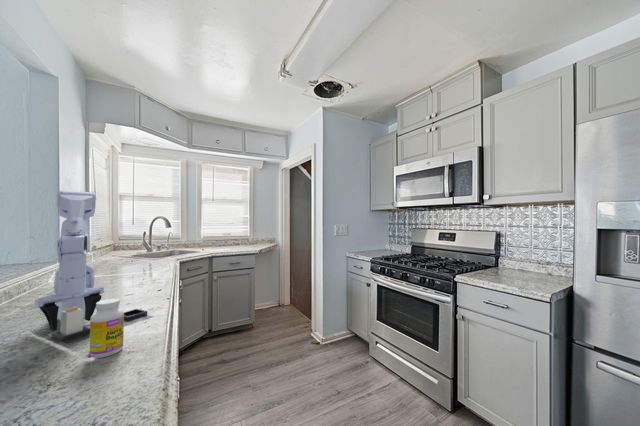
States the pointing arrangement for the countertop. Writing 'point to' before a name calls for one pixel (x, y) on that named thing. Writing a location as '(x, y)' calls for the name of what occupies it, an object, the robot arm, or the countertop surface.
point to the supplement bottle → (106, 329)
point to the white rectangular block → (71, 321)
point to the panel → (129, 318)
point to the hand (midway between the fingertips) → (71, 324)
